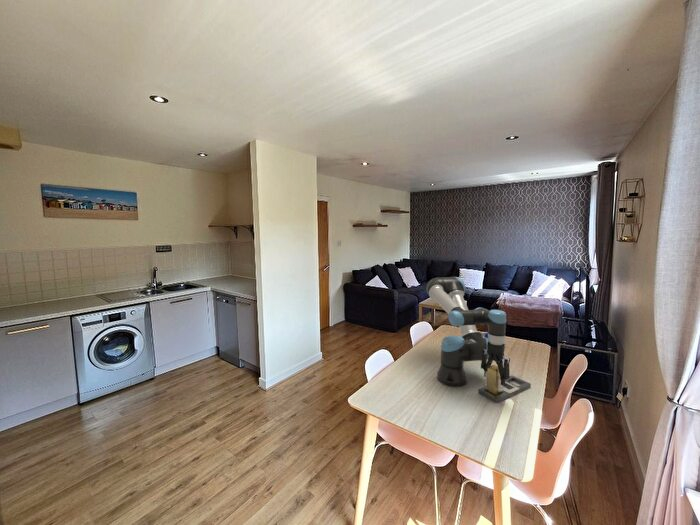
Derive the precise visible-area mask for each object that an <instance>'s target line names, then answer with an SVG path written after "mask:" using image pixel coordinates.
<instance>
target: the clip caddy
mask: <svg viewBox="0 0 700 525" xmlns="http://www.w3.org/2000/svg"><path fill="white" fill-rule="evenodd" d="M485 333H488V331H482V332H481V334H482V336H483V338H484V337H485ZM506 342H507V340H506V339H505V343H504V344H505V348H506V345H507V343H506Z"/></svg>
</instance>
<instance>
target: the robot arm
mask: <svg viewBox="0 0 700 525" xmlns="http://www.w3.org/2000/svg"><path fill="white" fill-rule="evenodd" d="M465 292H466V284H465V281H464V280H463V279H462V278H461V277H459V276H458V277H457V276H449V277H444V276H442V277H435V278H432V279H430V280H428V282H427V285H426V293H427V295H428V296H429V297H430V298H431V299H433V300H435V302H436V303H437V304H438V305H439V306H440V307H441V308H442V309H443V310H444V311H445V313H447V314H448V317H447V318H448V321H449V324H450V325H451V326H455V327H459V330H460V333H461V336H460V335H448V336H446V337H444V338H443V339H442V340H441V345H440V366H439V369H438V371H437V376H436V378H437V381H438V382H440V384H443V385H445V386H448V387H454V388H456V387H457V388H459V387H463V386H465V385H466V384H467V379H468V378H467V375H466V372H465V369H464V364H465V363H464V362H477V361H479V362H480V369H482V370H483V372H484V373H483V375H484V376H483V377H485V378H484V379H485V380H484V385H486V386H487V370H488V367H490V366H492V364H493V362H495V363H496V364H495V365H496V366H498V369H499V374H500V378H499V386H498V391H499V392H500V391H503V389H504V386H503V385H505V380H506V379H509V378H510V376H511V375H510V362H511V359H510V357H509V358H508V357H506V356H505V348H506V347H505V344H504V343H505V340H506V331H507V330H506V328H507V313H506V312H505V311H503V310H500V309H490V310H489V309H487V308H485V307H477V308H474V309H469V308H468V305H467V303H466V301H465V298H464V296H465ZM477 325H478V326H479V325H480V326H481V325H484V326H486V327H487V333H488V338H485V337H484V338H483V336H482V334H481V333H482V332H481V331H478V330H477V327H476V326H477Z"/></svg>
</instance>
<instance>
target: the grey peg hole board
mask: <svg viewBox="0 0 700 525" xmlns="http://www.w3.org/2000/svg"><path fill="white" fill-rule="evenodd" d="M512 382H514V383H516V384H519V385H516V384H514V383H512ZM531 386H532V384H531V383H530V382H528V381H525V380H523V379H521V378H520V377H516V376H514V375H510V378H509V379H506V380H505V385H503V387H505V388H506V389H508V390H506V389H504V388H503V391H501V394H500V395H498V396H494V395H492V394H490V393H488V392H487V385H486V386H483V387H481V388H478V389H477V390H478V391H477V393H478V394H479V395H480V396H482V397H484V398H486V399H488V400H490V401H491V402H493V403H495V404H499V403H500V402H503V401H506V400H507V399H509V398H510V397H513V396H515V395H517V394H520V393H522V392H524V391H526V390H528V389H531V388H532V387H531Z"/></svg>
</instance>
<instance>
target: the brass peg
mask: <svg viewBox="0 0 700 525" xmlns="http://www.w3.org/2000/svg"><path fill="white" fill-rule="evenodd" d="M499 378H500V374H499V369H498V365H497V364H493V365H492V364H491V366H490V367H488V370H487V385H486V386H487V392H488V393H490V394H492V395H494V396H498V395H500V394H501V391H500V392H499V391H498V386H499Z"/></svg>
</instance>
